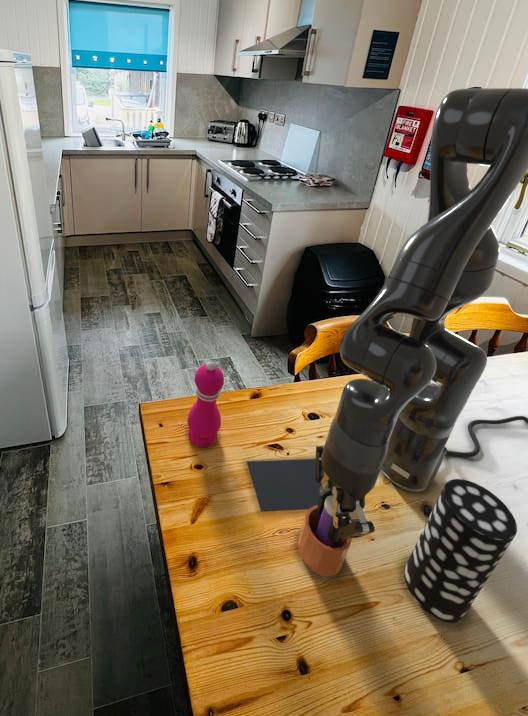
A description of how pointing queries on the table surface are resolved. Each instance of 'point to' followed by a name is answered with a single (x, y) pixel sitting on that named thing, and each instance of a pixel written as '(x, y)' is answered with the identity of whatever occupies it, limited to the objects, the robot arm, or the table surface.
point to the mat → (285, 484)
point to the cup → (320, 547)
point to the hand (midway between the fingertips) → (329, 524)
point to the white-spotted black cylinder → (458, 549)
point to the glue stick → (325, 523)
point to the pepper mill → (206, 406)
